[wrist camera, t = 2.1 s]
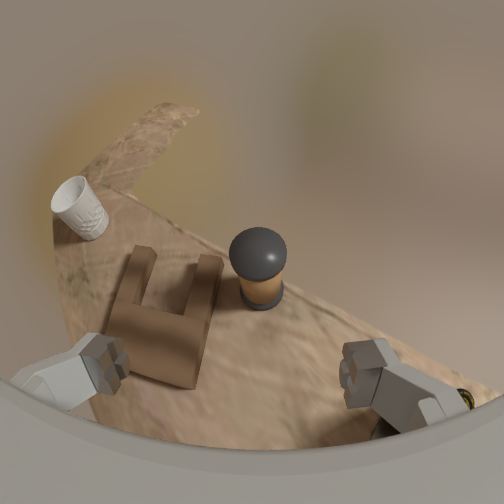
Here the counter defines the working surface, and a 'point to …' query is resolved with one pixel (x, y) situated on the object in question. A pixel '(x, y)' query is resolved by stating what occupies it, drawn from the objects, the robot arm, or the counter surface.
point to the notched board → (164, 321)
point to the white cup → (80, 208)
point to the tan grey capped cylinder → (259, 266)
